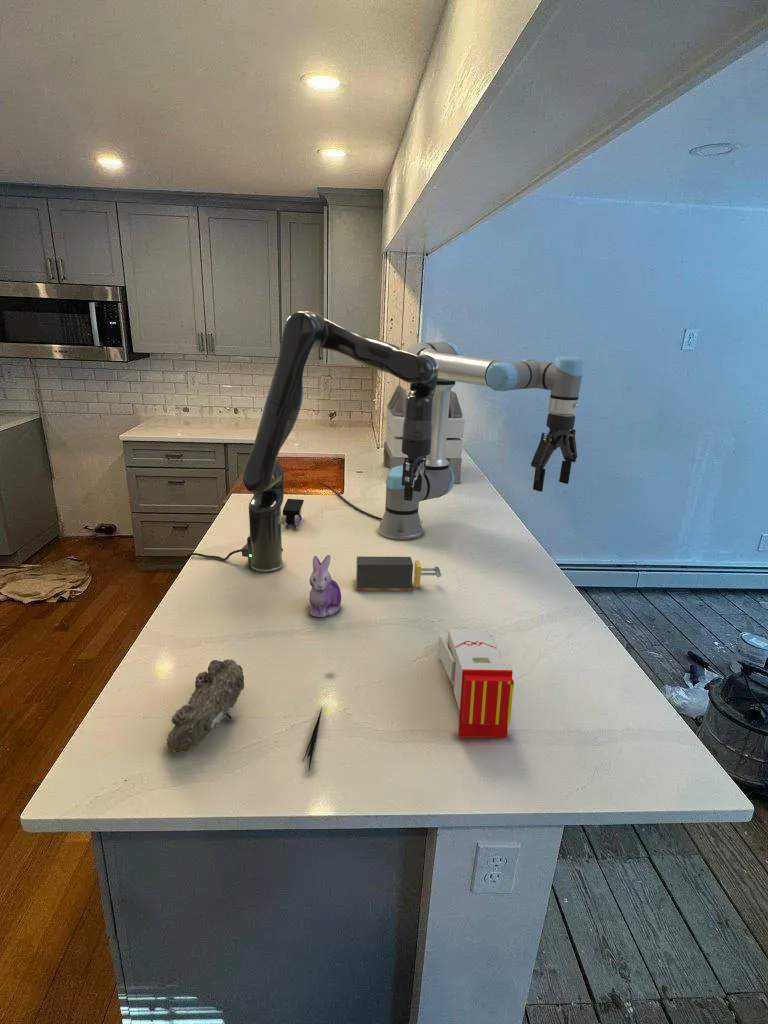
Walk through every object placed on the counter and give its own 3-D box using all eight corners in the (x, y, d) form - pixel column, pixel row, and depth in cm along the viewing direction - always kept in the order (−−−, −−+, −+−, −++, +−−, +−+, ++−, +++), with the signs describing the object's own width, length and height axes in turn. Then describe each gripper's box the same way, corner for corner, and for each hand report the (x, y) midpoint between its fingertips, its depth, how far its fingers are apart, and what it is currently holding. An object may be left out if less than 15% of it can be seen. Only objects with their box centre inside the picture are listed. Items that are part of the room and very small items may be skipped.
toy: (488, 613, 130) (523, 677, 101) (484, 667, 133) (517, 744, 104) (435, 612, 130) (455, 676, 101) (432, 666, 133) (451, 743, 103)
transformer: (382, 463, 289) (386, 382, 275) (445, 464, 293) (451, 384, 279) (390, 482, 257) (394, 392, 243) (460, 483, 261) (468, 394, 247)
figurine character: (300, 535, 198) (304, 515, 212) (299, 515, 195) (304, 497, 208) (280, 534, 198) (286, 515, 211) (279, 515, 195) (286, 496, 208)
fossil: (192, 660, 117) (244, 628, 112) (224, 691, 120) (276, 661, 115) (142, 746, 98) (202, 712, 93) (182, 779, 101) (242, 748, 96)
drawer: (437, 580, 165) (439, 560, 163) (440, 587, 161) (442, 566, 159) (367, 579, 163) (368, 560, 161) (368, 586, 159) (369, 566, 157)
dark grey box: (409, 581, 165) (410, 556, 163) (411, 590, 160) (413, 564, 157) (355, 581, 164) (356, 556, 161) (356, 590, 159) (357, 564, 156)
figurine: (314, 622, 141) (314, 568, 136) (300, 603, 150) (300, 551, 145) (349, 614, 146) (350, 561, 141) (333, 597, 154) (334, 546, 149)
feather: (331, 679, 122) (336, 673, 122) (307, 777, 96) (313, 769, 95) (324, 675, 122) (329, 669, 121) (298, 772, 95) (304, 764, 95)
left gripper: (410, 428, 153) (407, 486, 158) (394, 439, 140) (390, 501, 145) (438, 432, 150) (433, 490, 156) (423, 442, 138) (419, 505, 143)
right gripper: (548, 420, 148) (537, 497, 155) (596, 412, 164) (584, 482, 171) (524, 415, 153) (514, 490, 160) (573, 408, 169) (562, 476, 176)
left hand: (412, 495), depth 151 cm, fingers open, 8 cm apart
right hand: (550, 486), depth 165 cm, fingers open, 13 cm apart
